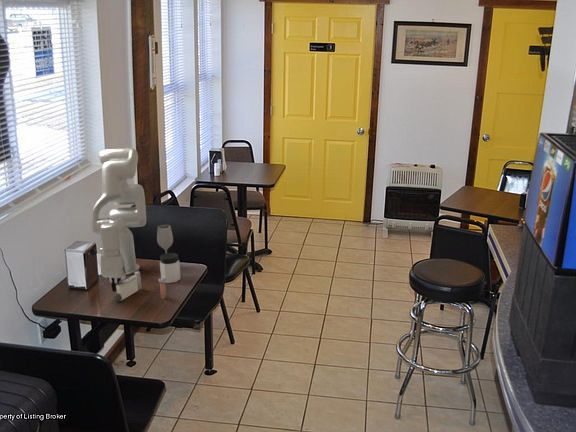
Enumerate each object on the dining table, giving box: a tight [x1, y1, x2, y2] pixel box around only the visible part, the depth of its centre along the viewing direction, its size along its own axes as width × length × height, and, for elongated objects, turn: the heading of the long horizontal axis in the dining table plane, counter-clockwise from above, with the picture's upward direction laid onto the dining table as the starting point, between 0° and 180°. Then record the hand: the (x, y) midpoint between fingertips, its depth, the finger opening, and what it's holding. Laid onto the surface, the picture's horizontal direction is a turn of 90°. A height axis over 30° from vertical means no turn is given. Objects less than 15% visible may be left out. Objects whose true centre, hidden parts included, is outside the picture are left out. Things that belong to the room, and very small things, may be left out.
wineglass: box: [156, 224, 174, 253], centre depth 311 cm, size 8×8×21 cm
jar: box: [159, 252, 181, 284], centre depth 297 cm, size 9×8×12 cm
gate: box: [113, 270, 142, 303], centre depth 282 cm, size 16×3×8 cm, turn 154°
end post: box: [157, 277, 168, 300], centre depth 278 cm, size 3×3×9 cm
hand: (116, 290), depth 280 cm, fingers closed
